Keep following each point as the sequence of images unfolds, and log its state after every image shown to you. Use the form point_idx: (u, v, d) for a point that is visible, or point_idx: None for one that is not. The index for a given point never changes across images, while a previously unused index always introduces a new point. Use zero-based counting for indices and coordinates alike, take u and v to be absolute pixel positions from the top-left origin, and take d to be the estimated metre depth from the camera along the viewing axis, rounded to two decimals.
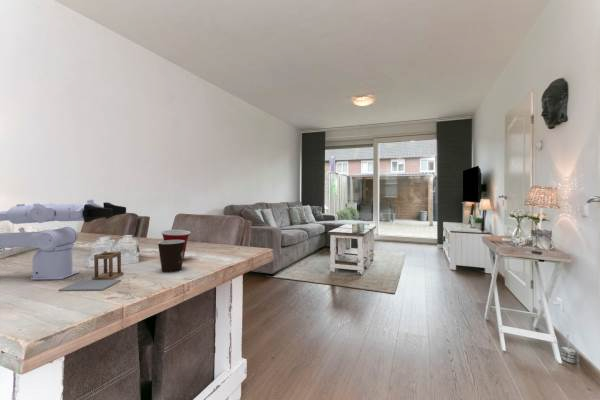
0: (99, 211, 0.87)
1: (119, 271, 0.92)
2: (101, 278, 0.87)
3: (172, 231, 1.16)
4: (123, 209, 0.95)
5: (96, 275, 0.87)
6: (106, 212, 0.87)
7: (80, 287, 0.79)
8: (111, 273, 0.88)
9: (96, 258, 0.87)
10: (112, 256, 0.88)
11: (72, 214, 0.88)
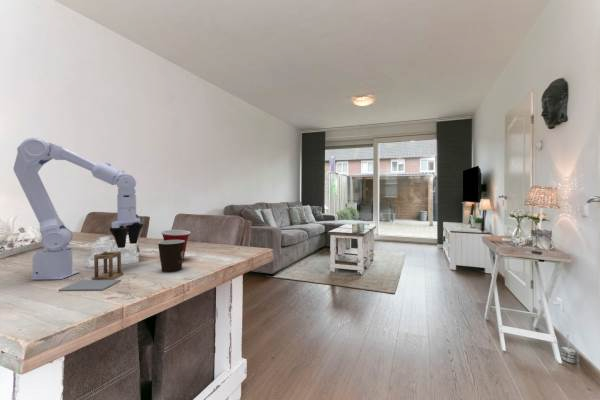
0: (121, 238, 0.96)
1: (119, 271, 0.92)
2: (101, 278, 0.87)
3: (172, 231, 1.16)
4: (134, 242, 1.04)
5: (96, 275, 0.87)
6: (120, 243, 0.96)
7: (80, 287, 0.79)
8: (111, 273, 0.88)
9: (96, 258, 0.87)
10: (112, 256, 0.88)
11: (120, 211, 0.98)
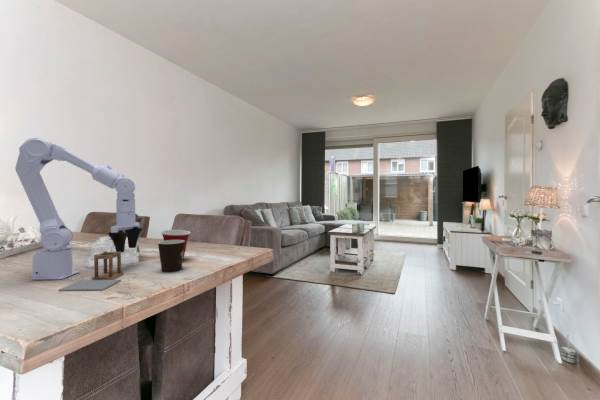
0: (120, 242, 0.96)
1: (119, 271, 0.92)
2: (101, 278, 0.87)
3: (172, 231, 1.16)
4: (133, 246, 1.04)
5: (96, 275, 0.87)
6: (119, 248, 0.96)
7: (80, 287, 0.79)
8: (111, 273, 0.88)
9: (96, 258, 0.87)
10: (112, 256, 0.88)
11: (119, 215, 0.97)
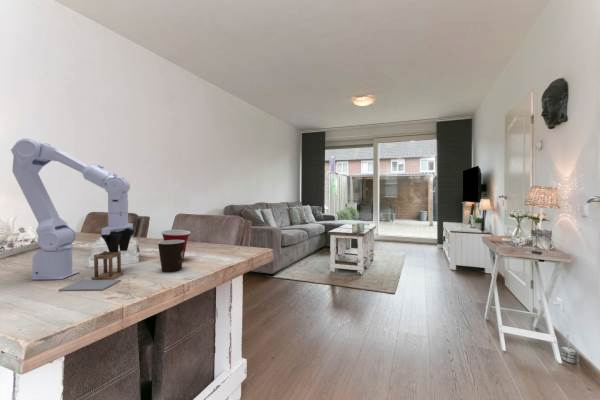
0: (114, 244, 0.92)
1: (119, 271, 0.92)
2: (101, 278, 0.87)
3: (172, 231, 1.16)
4: (124, 249, 0.98)
5: (96, 275, 0.87)
6: (112, 250, 0.92)
7: (80, 287, 0.79)
8: (111, 273, 0.88)
9: (96, 258, 0.87)
10: (112, 256, 0.88)
11: (111, 216, 0.92)
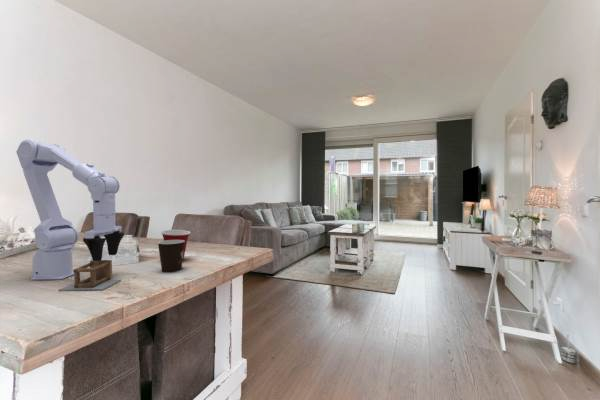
0: (97, 249, 0.84)
1: (106, 265, 0.85)
2: (100, 279, 0.86)
3: (172, 231, 1.16)
4: (113, 253, 0.92)
5: None
6: (96, 256, 0.84)
7: (80, 287, 0.79)
8: (106, 279, 0.85)
9: None
10: (94, 284, 0.80)
11: (96, 218, 0.85)
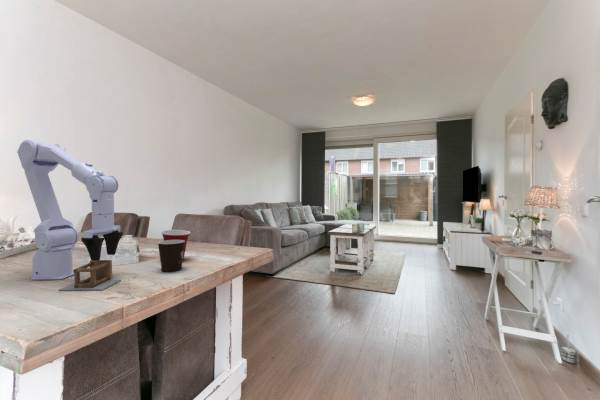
0: (96, 249, 0.83)
1: (106, 265, 0.85)
2: (100, 279, 0.86)
3: (172, 231, 1.16)
4: (112, 253, 0.91)
5: None
6: (94, 256, 0.83)
7: (80, 287, 0.79)
8: (106, 279, 0.85)
9: None
10: (94, 284, 0.80)
11: (95, 218, 0.85)
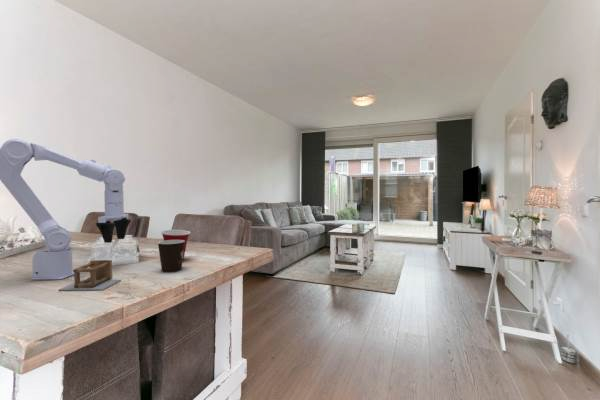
0: (108, 233, 0.97)
1: (106, 265, 0.85)
2: (100, 279, 0.86)
3: (172, 231, 1.16)
4: (121, 237, 1.05)
5: None
6: (107, 238, 0.97)
7: (80, 287, 0.79)
8: (106, 279, 0.85)
9: None
10: (94, 284, 0.80)
11: (107, 206, 0.98)
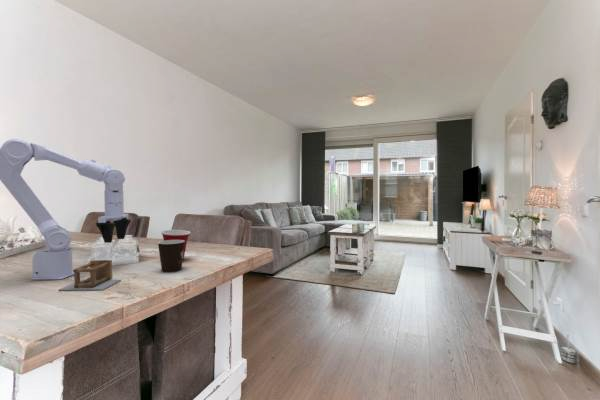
0: (108, 233, 0.97)
1: (106, 265, 0.85)
2: (100, 279, 0.86)
3: (172, 231, 1.16)
4: (121, 237, 1.05)
5: None
6: (107, 238, 0.97)
7: (80, 287, 0.79)
8: (106, 279, 0.85)
9: None
10: (94, 284, 0.80)
11: (107, 206, 0.98)
